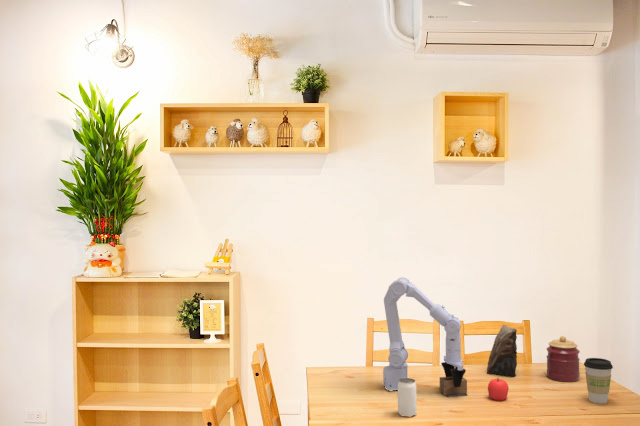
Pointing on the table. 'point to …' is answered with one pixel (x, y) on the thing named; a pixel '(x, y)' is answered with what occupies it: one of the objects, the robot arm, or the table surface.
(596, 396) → the coffee cup
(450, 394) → the panel
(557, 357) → the canister
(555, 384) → the table surface
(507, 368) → the rock
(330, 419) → the table surface
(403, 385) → the can
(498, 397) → the apple
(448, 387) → the walnut link
